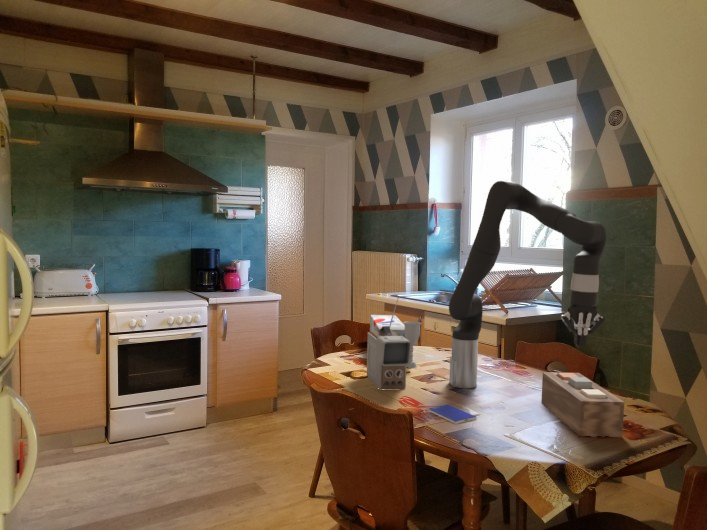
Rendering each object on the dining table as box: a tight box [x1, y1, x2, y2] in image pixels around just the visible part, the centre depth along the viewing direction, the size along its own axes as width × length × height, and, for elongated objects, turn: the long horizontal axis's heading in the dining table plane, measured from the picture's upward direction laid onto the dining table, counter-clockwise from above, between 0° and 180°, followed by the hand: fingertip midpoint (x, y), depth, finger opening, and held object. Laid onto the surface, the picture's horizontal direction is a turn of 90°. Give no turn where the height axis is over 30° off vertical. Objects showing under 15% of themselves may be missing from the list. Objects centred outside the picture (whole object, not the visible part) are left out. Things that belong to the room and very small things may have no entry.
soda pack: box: [369, 314, 405, 338], centre depth 255 cm, size 41×13×14 cm, turn 4°
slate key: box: [569, 376, 593, 389], centre depth 170 cm, size 5×5×5 cm
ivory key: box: [581, 389, 606, 398], centre depth 161 cm, size 5×5×5 cm
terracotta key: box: [557, 372, 578, 380], centre depth 179 cm, size 5×5×5 cm
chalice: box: [403, 320, 422, 369], centre depth 227 cm, size 7×7×18 cm
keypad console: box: [540, 371, 625, 438], centre depth 170 cm, size 12×30×10 cm, turn 1°
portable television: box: [366, 297, 412, 390], centre depth 202 cm, size 12×24×30 cm, turn 12°
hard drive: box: [428, 403, 477, 425], centre depth 171 cm, size 2×8×12 cm
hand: (579, 346), depth 167 cm, fingers closed
